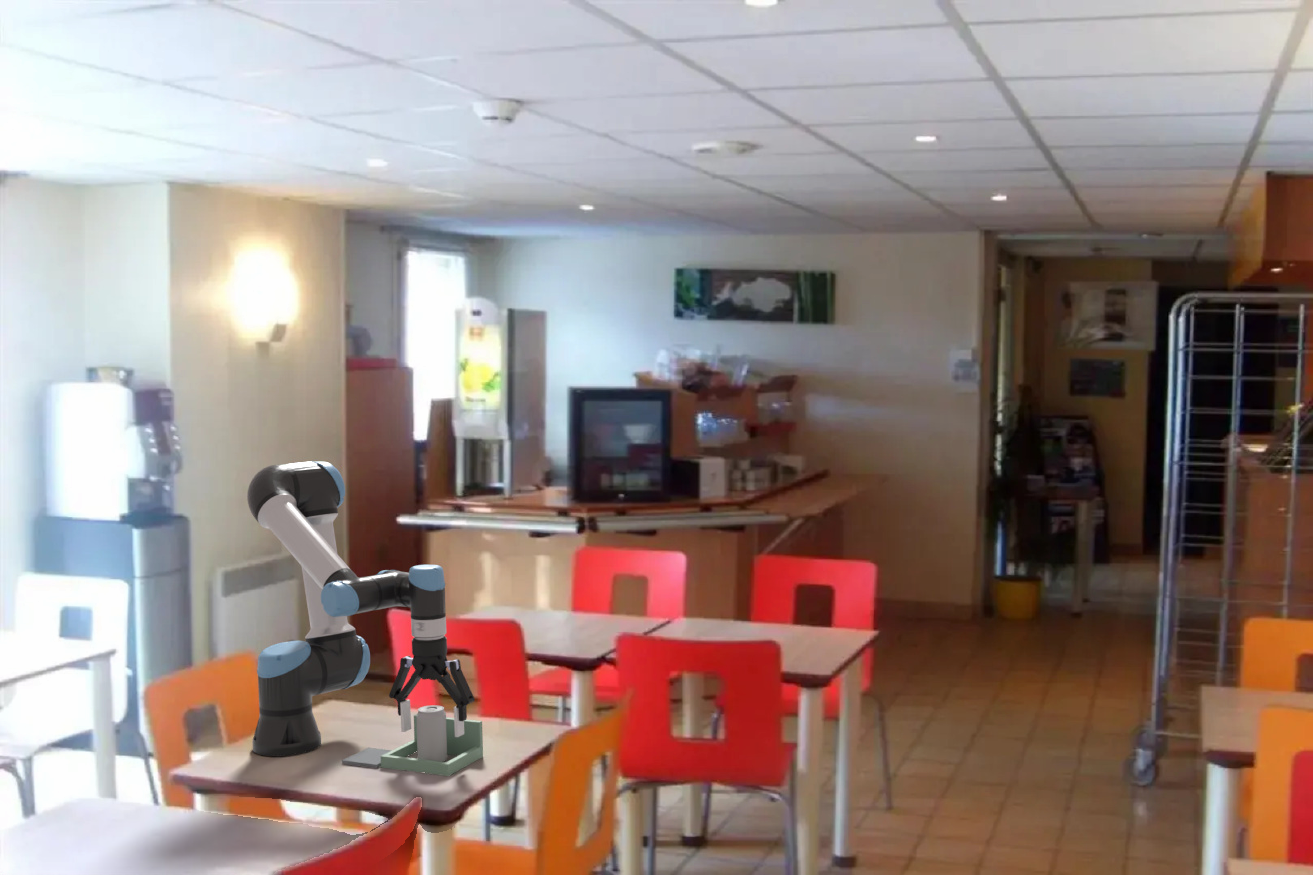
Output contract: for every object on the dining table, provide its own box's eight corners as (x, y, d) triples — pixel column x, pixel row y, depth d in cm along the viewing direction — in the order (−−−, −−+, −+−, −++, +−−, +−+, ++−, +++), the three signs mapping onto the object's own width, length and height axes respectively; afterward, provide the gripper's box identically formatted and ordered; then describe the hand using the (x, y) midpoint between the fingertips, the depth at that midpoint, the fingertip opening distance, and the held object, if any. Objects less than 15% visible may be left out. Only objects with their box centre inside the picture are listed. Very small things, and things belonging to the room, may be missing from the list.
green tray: (380, 767, 292) (379, 731, 291) (417, 748, 305) (416, 714, 305) (448, 776, 285) (447, 738, 285) (483, 756, 298) (482, 721, 298)
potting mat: (342, 763, 295) (342, 760, 295) (369, 751, 304) (368, 747, 304) (376, 768, 291) (376, 764, 291) (402, 755, 301) (402, 751, 300)
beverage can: (450, 757, 298) (449, 704, 297) (443, 766, 292) (441, 712, 291) (422, 757, 299) (420, 704, 298) (414, 766, 292) (412, 712, 292)
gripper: (371, 636, 295) (374, 732, 296) (469, 643, 285) (473, 742, 286) (390, 630, 302) (394, 723, 303) (487, 636, 292) (491, 733, 293)
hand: (432, 733), depth 295 cm, fingers open, 13 cm apart
